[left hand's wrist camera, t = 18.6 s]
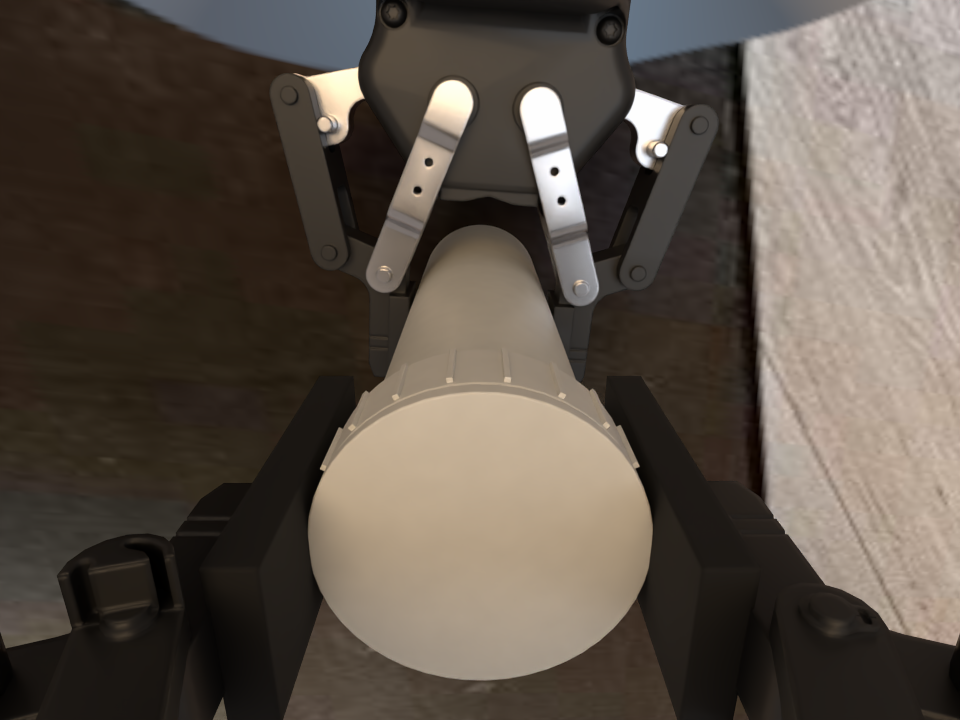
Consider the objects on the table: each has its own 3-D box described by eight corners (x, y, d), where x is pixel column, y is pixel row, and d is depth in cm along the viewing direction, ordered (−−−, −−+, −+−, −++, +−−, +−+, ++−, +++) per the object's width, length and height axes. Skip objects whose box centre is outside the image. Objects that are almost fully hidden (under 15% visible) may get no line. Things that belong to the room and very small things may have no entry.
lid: (274, 516, 13) (240, 584, 11) (441, 282, 11) (432, 315, 9) (511, 648, 14) (516, 729, 12) (693, 455, 12) (731, 515, 10)
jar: (455, 204, 27) (414, 349, 10) (554, 256, 28) (674, 474, 11) (407, 302, 29) (298, 574, 12) (502, 349, 30) (534, 669, 12)
